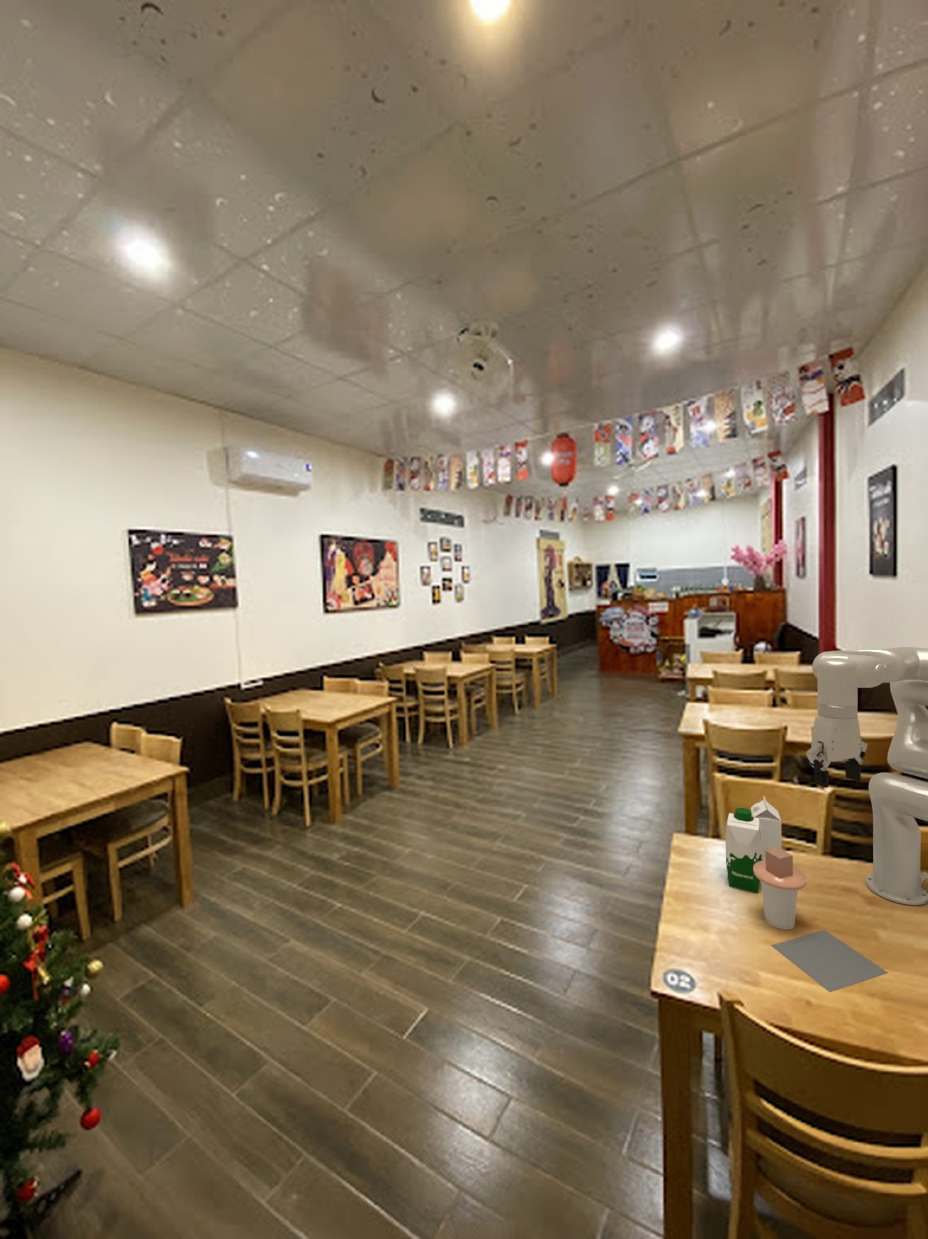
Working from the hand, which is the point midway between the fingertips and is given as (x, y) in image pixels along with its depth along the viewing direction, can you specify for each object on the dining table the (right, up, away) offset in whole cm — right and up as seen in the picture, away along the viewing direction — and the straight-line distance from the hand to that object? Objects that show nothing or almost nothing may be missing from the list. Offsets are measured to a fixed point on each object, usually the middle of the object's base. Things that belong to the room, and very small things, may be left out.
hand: (837, 782), depth 118 cm
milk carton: (+2, -35, +31) cm, 47 cm away
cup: (-10, -37, +5) cm, 39 cm away
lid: (-11, -25, +5) cm, 27 cm away
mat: (-8, -37, -8) cm, 39 cm away
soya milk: (-10, -36, +22) cm, 43 cm away
